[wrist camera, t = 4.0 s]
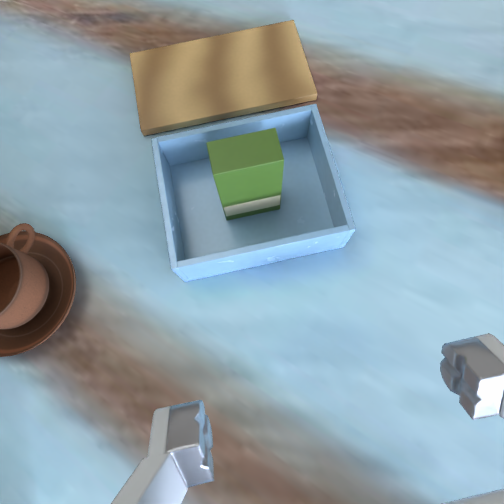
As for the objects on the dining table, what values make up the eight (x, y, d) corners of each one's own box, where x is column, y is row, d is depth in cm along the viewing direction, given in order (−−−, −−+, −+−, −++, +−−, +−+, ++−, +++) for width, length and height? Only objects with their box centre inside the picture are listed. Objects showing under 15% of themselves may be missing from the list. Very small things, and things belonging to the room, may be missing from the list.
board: (293, 26, 44) (293, 19, 43) (316, 99, 41) (317, 93, 40) (132, 59, 44) (129, 53, 43) (143, 136, 41) (140, 130, 40)
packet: (273, 182, 38) (275, 126, 28) (280, 209, 37) (284, 160, 28) (220, 194, 37) (205, 141, 28) (226, 221, 37) (212, 175, 27)
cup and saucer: (-24, 240, 38) (-77, 218, 32) (89, 234, 38) (56, 211, 32) (-46, 359, 35) (-111, 359, 29) (78, 354, 34) (38, 352, 28)
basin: (310, 135, 40) (316, 103, 35) (343, 247, 36) (356, 229, 31) (165, 166, 40) (150, 138, 35) (184, 282, 36) (170, 269, 31)
